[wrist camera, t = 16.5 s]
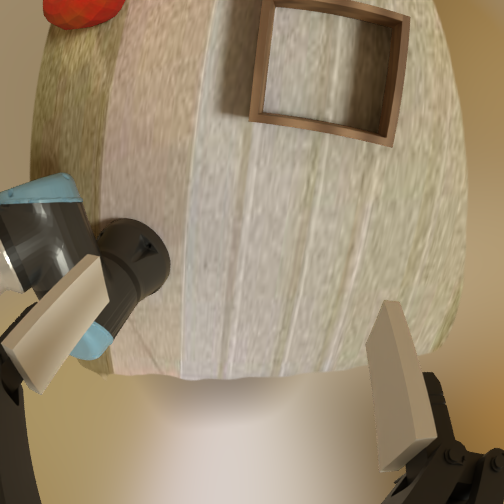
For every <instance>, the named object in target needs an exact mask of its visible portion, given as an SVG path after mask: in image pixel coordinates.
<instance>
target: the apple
mask: <svg viewBox="0 0 504 504" xmlns="http://www.w3.org/2000/svg"><path fill="white" fill-rule="evenodd" d="M124 2H125V0H43V12H44V16H45V17H46V19H47V20H48V21H49V22H50V23H52V24H54V25H56V26H58V27H60V28H62V29H64V30H70V29H79V28H86V27H92V26H94V25H97V24H100V23H103V22H106V21H108V20H110V19H111V18H113V17H115V15H116V14H117V13H118V12H119V11H120V10H121V8H122V6H123V4H124Z"/></svg>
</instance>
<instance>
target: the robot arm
mask: <svg viewBox="0 0 504 504" xmlns="http://www.w3.org/2000/svg"><path fill="white" fill-rule="evenodd" d="M82 202H83V199H82V198H81V197H80V195H79V193H78V190H77V187H76V185H75V182H74V180H73V178H72V177H71V176H70V175H69V174H67V173H63V172H61V173H57V174H53V175H50V176H46V177H43V178H40V179H37V180H33V181H30V182H28V183H25V184H22V185H19V186H16V187H14V188H11V189H8V190H5V191H2V192H0V295H1V294H2V293H4V292H5V291H6V290H12V291H15V292H18V293H21V294H22V293H24V292H26V291H27V290H28V289H30V288H31V287H32V288H33V290H34V292H35V294H36V295H37V297H38V299H39V302H35V303H34V304H32V305H30V306H29V307H27V308H26V309H25V310H24V311H23V312H22V313H21V315H20V316H19V317H18V318H17V319H16V320H15V322H13V323H12V324H11V325H10V326H9V328H8V329H7V330H6V331H5V332H4V333H3V334H2V335H1V337H0V504H41V500H40V496H39V493H38V489H37V485H36V480H35V476H34V471H33V466H32V461H31V456H30V450H29V444H28V437H27V429H26V421H25V410H24V397H23V388H22V385H21V383H22V381H23V380H24V381H25V383H26V384H27V386H28V387H29V388H30V389H31V390H33V391H35V392H36V393H38V394H40V395H42V393H43V392H44V390H45V389H46V387H47V386H48V384H49V383H50V381H51V380H52V378H53V377H54V375H55V374H56V373H57V371H58V370H59V368H60V367H61V365H62V364H63V362H64V361H65V360H66V358H67V357H68V355H71V356H73V357H76V358H79V359H83V360H94V359H97V358H98V357H100V356H101V355H102V354H103V352H104V351H105V350H106V349H107V347H108V346H109V345H111V344H112V342H113V340H114V338H115V337H116V335H117V334H118V332H119V331H120V329H121V328H122V326H123V325H124V323H125V322H126V320H127V319H128V317H129V316H130V314H131V313H132V311H133V310H134V308H135V307H136V305H137V304H138V302H140V301H141V300H143V299H144V298H145V297H147V296H149V295H151V294H153V293H155V292H157V291H158V290H159V289H160V288H161V287H162V285H163V284H164V282H165V281H166V280H167V278H168V276H169V272H170V258H169V254H168V251H167V249H166V247H165V245H164V243H163V241H162V240H161V239H160V237H159V236H158V235H157V234H156V233H155V232H154V231H153V230H152V229H151V228H149V227H148V226H146V225H145V224H143V223H141V222H138V221H136V220H132V219H119V220H116V221H114V222H112V223H110V224H109V225H108V226H107V227H105V228H104V229H103V230H102V231H101V233H100V234H99V236H98V238H97V240H96V239H95V237H94V234H93V231H92V229H91V226H90V224H89V221H88V218H87V215H86V212H85V209H84V206H83V203H82ZM366 351H367V358H368V364H369V371H370V379H371V386H372V394H373V402H374V412H375V422H376V433H377V446H378V461H379V472H390V471H398V470H400V469H401V468H402V467H403V466H405V465H406V473H405V474H404V475H402V476H401V477H400V478H398V479H397V480H396V481H395V482H394V483H395V484H396V483H397V484H396V486H395V487H394V488H393V490H392V491H391V492H390V494H389V495H388V496H387V497H386V498H385V500H384V501H383V502H382V503H381V504H503V501H504V450H502V449H500V448H494V449H492V450H490V451H489V452H487V453H486V454H479V453H473V452H469V451H467V450H466V448H465V446H464V445H463V444H462V443H461V442H459V441H456V440H455V437H454V434H453V429H452V425H451V421H450V417H449V413H448V409H447V406H446V405H445V403H446V402H445V398H444V396H443V391H442V387H441V384H440V382H439V380H438V379H437V377H436V376H435V375H434V373H433V372H422V370H421V367H420V363H419V360H418V356H417V353H416V350H415V346H414V343H413V340H412V337H411V334H410V331H409V327H408V324H407V321H406V319H405V316H404V313H403V310H402V307H401V304H400V302H398V301H389V300H384V301H383V304H382V306H381V309H380V311H379V314H378V316H377V319H376V321H375V324H374V326H373V328H372V331H371V333H370V335H369V338H368V340H367V342H366Z"/></svg>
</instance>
